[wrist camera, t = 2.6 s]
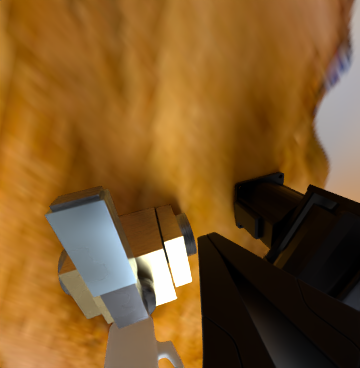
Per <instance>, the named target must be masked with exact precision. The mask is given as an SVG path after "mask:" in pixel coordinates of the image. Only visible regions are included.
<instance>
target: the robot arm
mask: <svg viewBox="0 0 360 368" xmlns="http://www.w3.org/2000/svg"><path fill="white" fill-rule="evenodd" d="M283 182H284V173H282V172H276V173H272V174H269V175H265V176H261V177H258V178H254V179H250V180H247V181H243V182H239V183H237V184H236V185H235V202H234V208H235V219H236V226H237V227H238V228H245V229H246V230H247V231H248V232H249V233H250V234H251V235H252V236H253V237H254V238H255V239H260V240H261V241H262V242H263V243H264V244H265V245H266V246H267V247H268V248H269V249H270V250H269V252H268V253H267V255H265V256H264V257H263V259H262V258H260V257H259V256H257V255H255V254H253V253H252V252H250V251H248V250H246V249H244V248H243V247H241V246H239V245H237V244H236V243H234V242H232V241H230V240H228V239H227V238H225V237H223V236H221V235H220V234H218V233H216V232H213V233H209V234H207V235H203V236H200V237H198V238H197V241H198V260H199V278H200V296H201V315H202V340H203V366H202V368H360V203H358V202H355V201H353V200H350V199H348V198H345V197H342V196H339V195H337V194H334V193H331V192H329V191H326V190H324V189H321V188H318V187H316V186H313V185H311V184H310V185H309V186H308V188H307V192H306V193H305V195H304V194H302V193H300V192H297V191H295V190H293V189H291V188H289V187H287V186H284V185H283ZM239 186H240V188H239Z"/></svg>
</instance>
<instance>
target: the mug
mask: <svg viewBox="0 0 360 368" xmlns="http://www.w3.org/2000/svg"><path fill="white" fill-rule="evenodd" d="M161 358H168V359H169V360H170V361H171V362H172V364H173V365H174V367H175V368H185V367H184V365H183V363H182V361H181V359H180V357H179V355H178V353H177V351H176V349H175V347H174V345H173V343H172V342H171V341H166V342H159V341H157V340H156V338H155V332H154V324H153V319H152V317H151V316H150V315H149V318H147V319H144V320H141V321H139V322H136V323H134V324H131V325H128V326H126V327H123V328H120V329H119V328H118V327H117V325H116V323H115V322H114V323H113V324H112V325H111V327H110V330H109V336H108V343H107V350H106V357H105V364H104V368H159V367H158V360H159V359H161Z"/></svg>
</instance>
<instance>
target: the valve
mask: <svg viewBox="0 0 360 368" xmlns="http://www.w3.org/2000/svg"><path fill="white" fill-rule="evenodd" d="M156 211H157V215H158V219H159V220H158V221H157V217H156V214H155V210H154V207H152V208H148V209H145V210H141V211H137V212H134V213H130V214H127V215H123V216H119V219H120V222H121V224H122V227H123V229H124V232H125V235H126V237H127V240H128V243H129V245H130V248H131V251H132V253H133V256H134V258H135V261H136V264H137V276H138V277H145V278H148V279H150V280H151V281H152V282H153V284H154V286H155V294H156V306H158V305H160V304H163V303H166V302H168V301H171V300H174V299H177V298H176V294H175V290H174V285H173V281H172V277H171V273H170V268H169V264H168V263H170V266H171V270H172V274H173V277H174V281H175V285H176V287H178V286H181V285H183V284H186V283H189V282H192V279H191V274H190V269H189V264H188V259H187V257H188V256H191V255H194V254H196V252H197V251H196V244H195V240H194V236H193V232H192V229H191V226H190V224H189V221H188V219H187V217H186V215H185V213H182V214H178V215H175V216H174V213H173V211H172V208H171V206H170V204H169V205H165V206H162V207H158V208H156ZM58 276H59V281H60V284H61V287H62V289H63V290H64V292H65V293H66V294H68V295H71V296H72V297H73V298H74V300H75V301H76V303H77V304H78V306H79V307H80V309H81V310H82V312H83V313H84V315H85V316H86V318H87V319H89V318H92V317H95V316H98V315H100V314H102V315H103V316H104V318H105V320H106V321H107V323H108V324H110V323H112V322H115V321H114V320H113V318H112V316H111V314H110V313H109V311H108V309H107V307H106V306H105V304H104V302H103V300H102V299H101V297H100V295H99V296H96V297H93V295H92V294H91V292H90V290H89V289H88V287H87V285H86V284H85V282H84V280H83V279H82V277H81V275H80V273H79V272H78V270H77V268H76V267H75V265H74V263H73V262H72V260H71V258H70V257H69V255H68V253H67V252H66V250H65V249H64V250H63V251H62V253H61V256H60V259H59V264H58Z"/></svg>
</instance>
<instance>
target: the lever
mask: <svg viewBox="0 0 360 368" xmlns="http://www.w3.org/2000/svg"><path fill="white" fill-rule="evenodd" d="M49 207H50V210H49V211H48V212H47V213H46V214H45V216H46V218H47V220H48V221H49V223H50V225H51V226H52V228H53V230H54V232H55V233H56V235H57V237H58V238H59V240H60V242H61V243H62V245H63V247H64V248H65V250H66V252H67V253H68V255H69V257H70V258H71V260H72V262H73V263H74V265H75V267H76V268H77V270H78V272H79V273H80V275H81V277H82V279H83V280H84V282H85V284H86V285H87V287H88V289H89V290H90V292H91V294H92V295H93V297H96V296H99V295H100V297H101V299H102V300H103V302H104V304H105V306H106V307H107V309H108V311H109V313H110V314H111V316H112V318H113V320H114V321H115V323H116V325H117V327H118V328H119V329H120V328H123V327H126V326H128V325H131V324H134V323H136V322H139V321H141V320H144V319H147V318H149V315H150V314H151V313H152V312H153V311H154V309H155V307H156V294H155V286H154V284H153V282H152V281H151V280H150V279H148V278H145V277H138V276H137V264H136V261H135V258H134V256H133V253H132V251H131V248H130V245H129V243H128V240H127V237H126V235H125V232H124V229H123V227H122V224H121V222H120V219H119V216H118V214H117V211H116V208H115V206H114V203H113V201H112V198H111V195H110V193H109V190H108V189H104V190H103V188H102V186H99V187H95V188H91V189H87V190H83V191H79V192H75V193H70V194H66V195H62V196H58V198H57V199H56V200H55V201H54V202H53V203H52V204H51V205H50V206H49Z"/></svg>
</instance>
